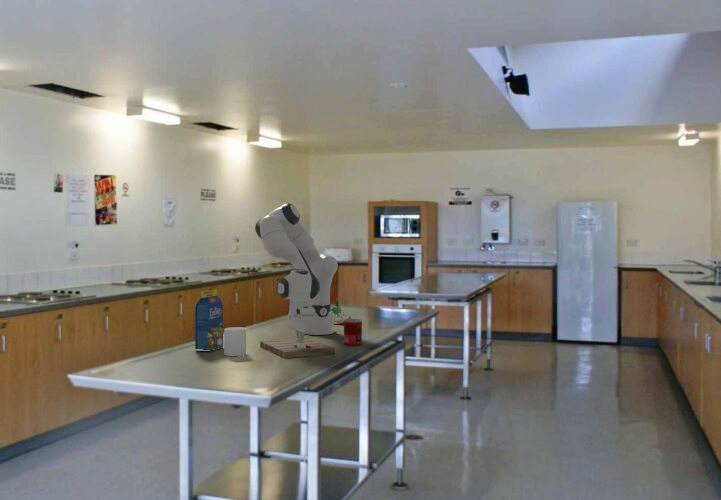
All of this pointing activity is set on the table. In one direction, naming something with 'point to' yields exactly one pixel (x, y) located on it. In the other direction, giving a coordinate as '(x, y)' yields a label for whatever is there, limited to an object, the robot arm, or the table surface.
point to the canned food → (352, 332)
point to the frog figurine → (337, 310)
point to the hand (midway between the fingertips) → (300, 342)
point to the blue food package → (209, 321)
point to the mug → (235, 341)
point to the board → (290, 348)
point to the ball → (301, 346)
